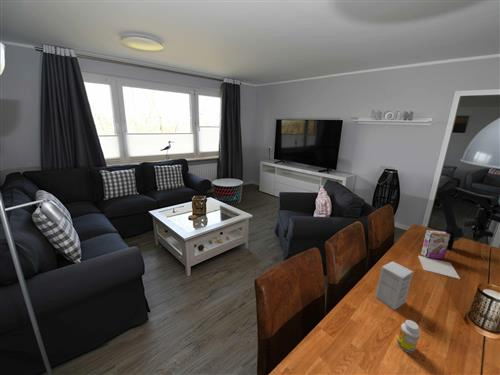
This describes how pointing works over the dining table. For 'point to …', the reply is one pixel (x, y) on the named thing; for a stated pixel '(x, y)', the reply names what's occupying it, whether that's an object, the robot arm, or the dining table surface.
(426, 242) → the candy bar box
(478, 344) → the dining table surface
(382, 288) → the supplement box
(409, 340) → the supplement bottle
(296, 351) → the dining table surface
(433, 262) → the mat
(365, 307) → the dining table surface
